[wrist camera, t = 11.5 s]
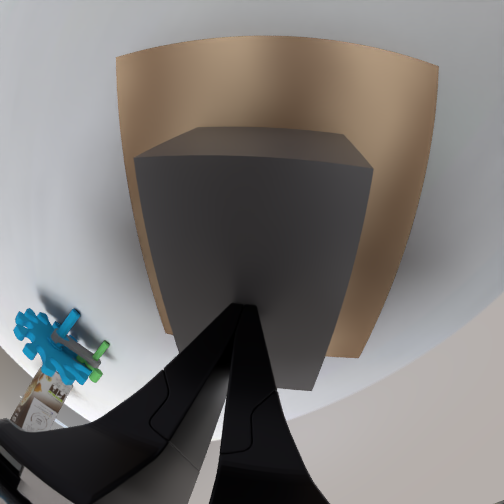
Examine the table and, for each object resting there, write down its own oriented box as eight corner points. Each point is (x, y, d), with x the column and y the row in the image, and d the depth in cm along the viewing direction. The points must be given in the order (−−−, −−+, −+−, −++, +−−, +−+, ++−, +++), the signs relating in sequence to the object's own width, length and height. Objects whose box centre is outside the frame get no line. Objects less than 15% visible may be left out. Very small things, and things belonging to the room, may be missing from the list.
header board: (429, 67, 8) (469, 65, 5) (357, 347, 18) (361, 388, 15) (127, 57, 10) (80, 57, 7) (170, 323, 20) (153, 359, 17)
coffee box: (49, 364, 37) (13, 427, 24) (73, 385, 39) (42, 448, 26) (39, 366, 41) (8, 420, 28) (61, 385, 43) (32, 439, 30)
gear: (23, 305, 22) (0, 346, 14) (47, 267, 24) (26, 297, 15) (92, 359, 28) (96, 411, 19) (117, 326, 29) (128, 373, 21)
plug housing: (343, 134, 10) (374, 168, 6) (314, 315, 15) (311, 391, 11) (197, 127, 11) (133, 157, 6) (212, 303, 16) (185, 372, 12)
